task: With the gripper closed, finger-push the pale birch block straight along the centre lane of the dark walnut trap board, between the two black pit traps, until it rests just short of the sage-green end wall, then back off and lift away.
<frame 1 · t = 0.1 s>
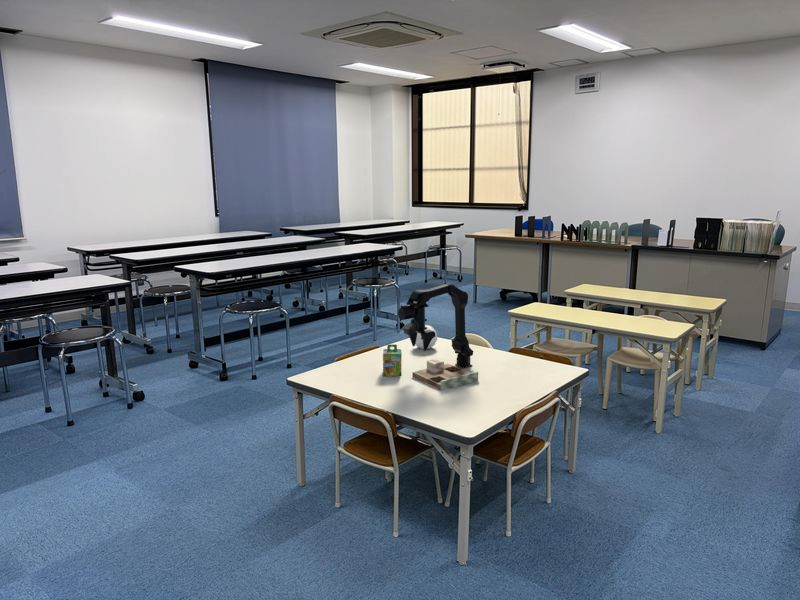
hand: (419, 348, 276), 14 cm above the table, fingers open, 9 cm apart
chalk box: (392, 374, 284), on the table
block: (435, 369, 281), point 2 cm above the table, touching trap board
trap board: (444, 378, 276), on the table
geodesic sphere: (425, 348, 326), on the table
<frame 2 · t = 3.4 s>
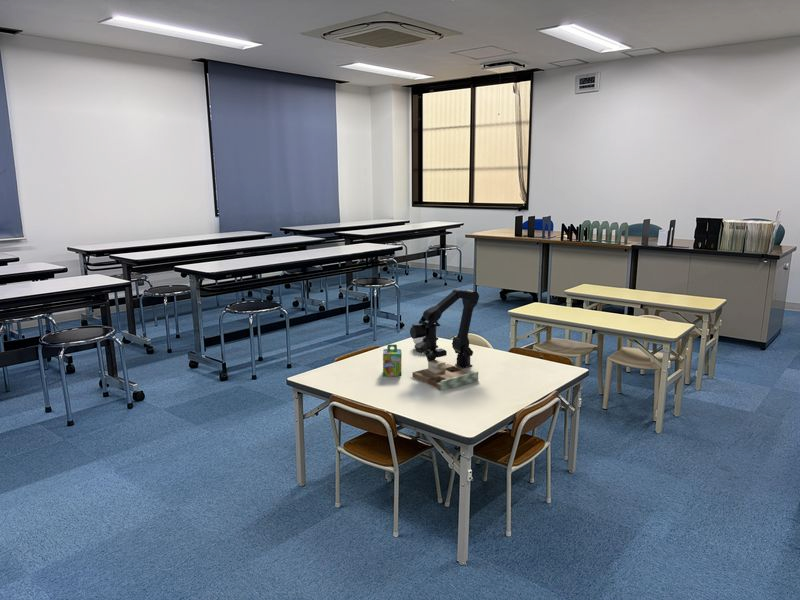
hand: (430, 365, 284), 4 cm above the table, fingers closed
block: (436, 370, 280), point 3 cm above the table, touching gripper
everything else where it was.
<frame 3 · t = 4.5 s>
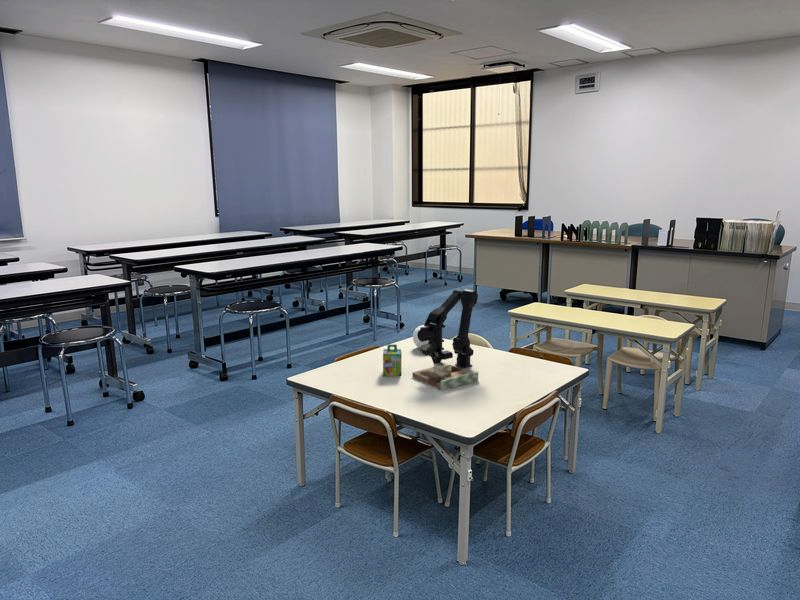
hand: (436, 368, 281), 4 cm above the table, fingers closed
block: (442, 373, 277), point 2 cm above the table, touching gripper, trap board
everything else where it was.
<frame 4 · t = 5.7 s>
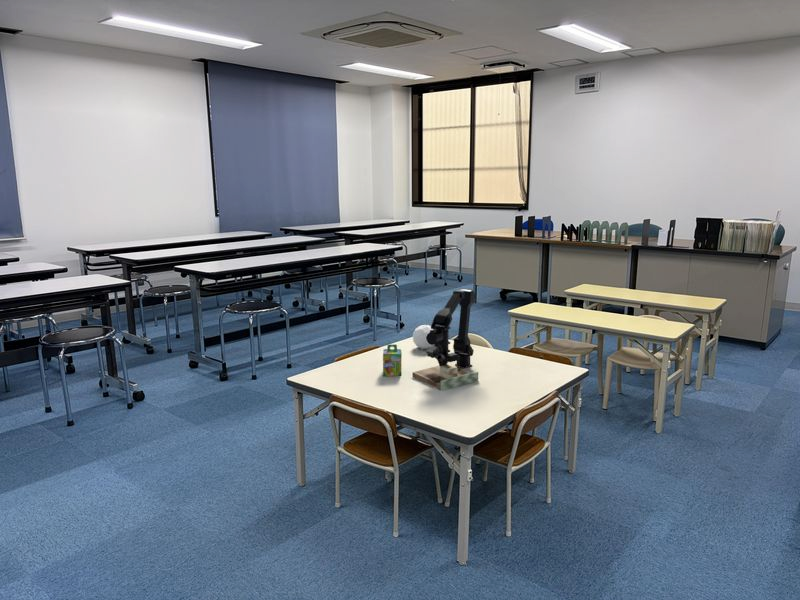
hand: (442, 370, 277), 4 cm above the table, fingers closed
block: (448, 375, 273), point 3 cm above the table, touching gripper
everything else where it was.
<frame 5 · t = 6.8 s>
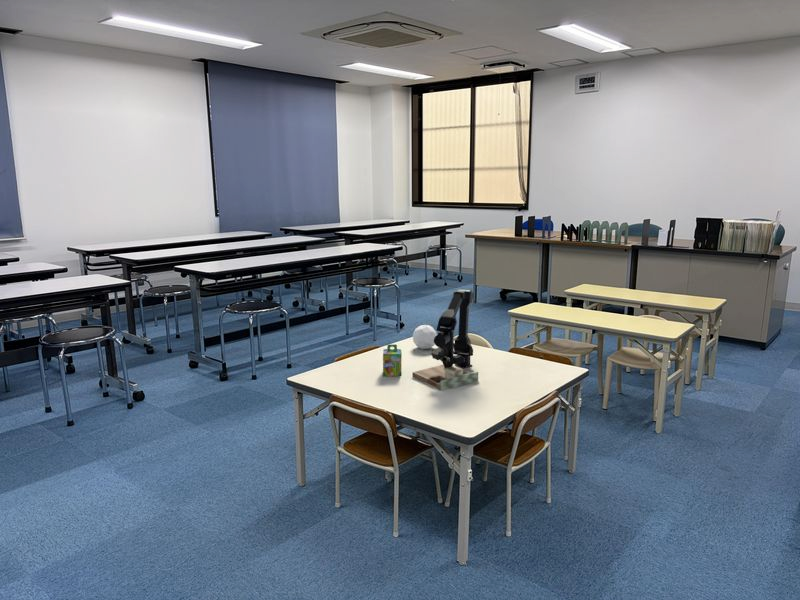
hand: (447, 372, 274), 4 cm above the table, fingers closed
block: (453, 377, 270), point 2 cm above the table, touching gripper, trap board
everything else where it was.
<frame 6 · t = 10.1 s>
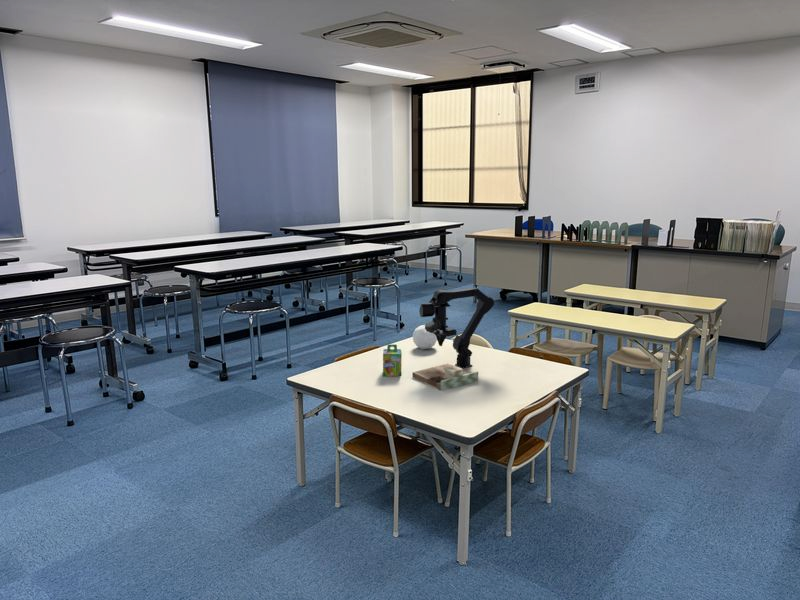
hand: (440, 345, 289), 12 cm above the table, fingers closed
block: (453, 377, 270), point 2 cm above the table, touching trap board
everything else where it was.
at the end: block 1.1 cm from the target spot on the trap board, point 2.5 cm above the trap board's base; block tilted 0°; block moved 14.4 cm from its start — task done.
